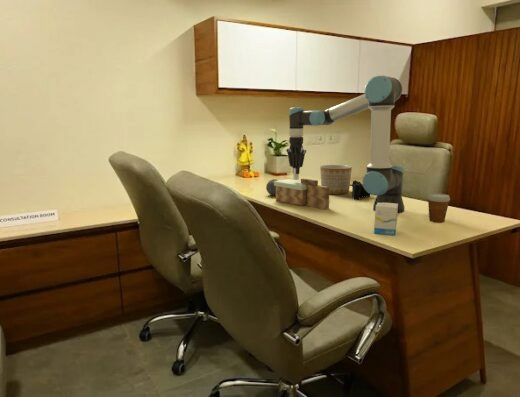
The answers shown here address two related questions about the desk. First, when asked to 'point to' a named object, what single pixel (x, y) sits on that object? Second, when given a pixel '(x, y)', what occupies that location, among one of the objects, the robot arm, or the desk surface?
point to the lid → (291, 184)
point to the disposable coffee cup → (438, 207)
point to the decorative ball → (271, 187)
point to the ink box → (385, 218)
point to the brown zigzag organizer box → (305, 196)
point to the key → (309, 181)
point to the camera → (358, 191)
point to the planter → (336, 178)
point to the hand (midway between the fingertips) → (295, 179)
